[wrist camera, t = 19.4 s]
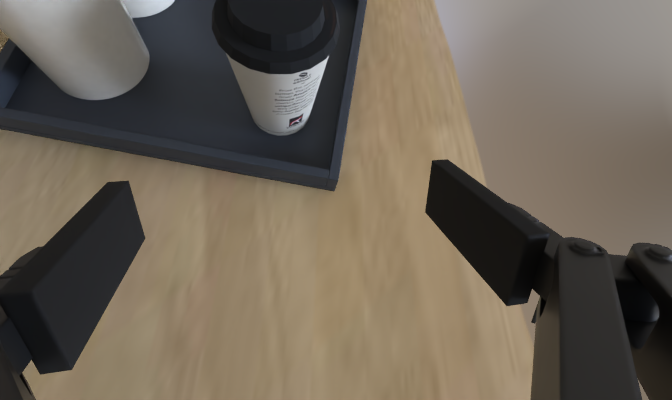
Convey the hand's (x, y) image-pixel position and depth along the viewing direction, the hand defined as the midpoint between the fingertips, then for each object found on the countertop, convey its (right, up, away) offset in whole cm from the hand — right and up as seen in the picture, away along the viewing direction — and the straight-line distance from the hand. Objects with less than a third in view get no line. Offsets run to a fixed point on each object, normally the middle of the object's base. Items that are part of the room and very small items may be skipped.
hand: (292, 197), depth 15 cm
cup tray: (-9, +12, +13) cm, 20 cm away
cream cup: (-16, +10, +11) cm, 22 cm away
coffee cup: (-2, +7, +12) cm, 14 cm away
